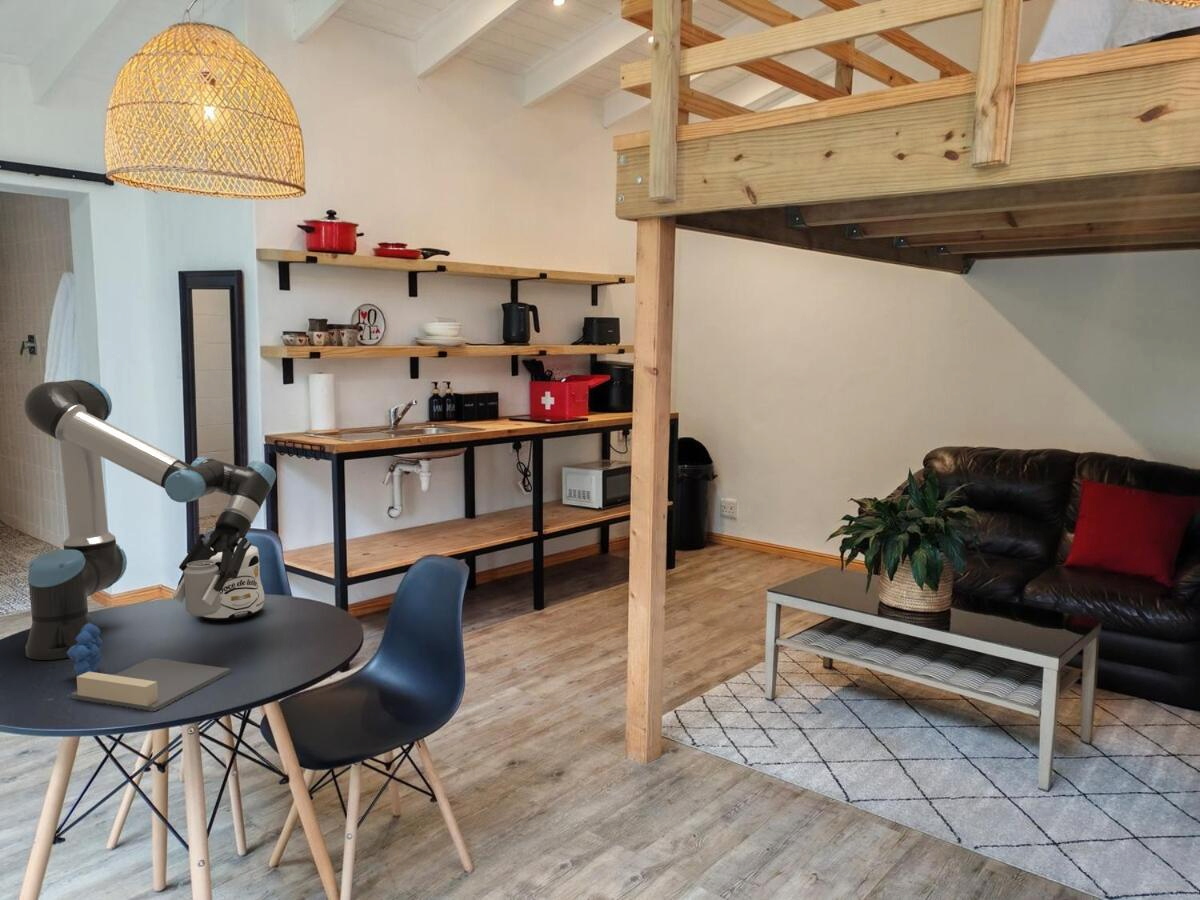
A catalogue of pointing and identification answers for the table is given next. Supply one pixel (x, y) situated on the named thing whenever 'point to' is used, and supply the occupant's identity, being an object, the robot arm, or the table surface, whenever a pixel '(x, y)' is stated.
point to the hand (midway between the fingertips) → (191, 600)
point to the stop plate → (167, 680)
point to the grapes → (86, 649)
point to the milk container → (241, 589)
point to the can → (200, 587)
